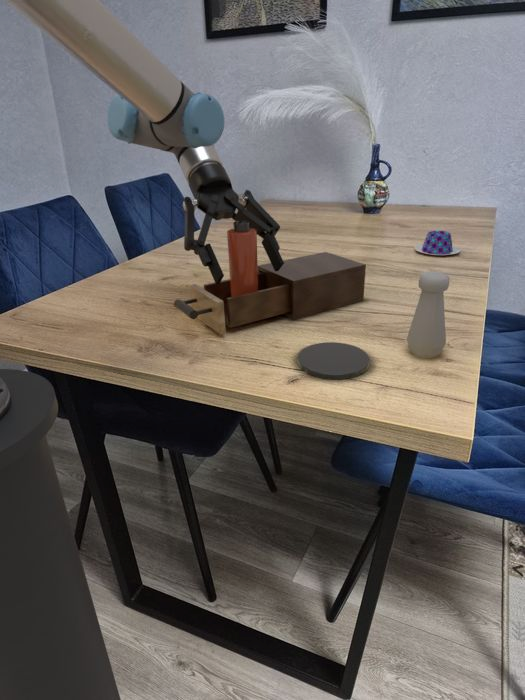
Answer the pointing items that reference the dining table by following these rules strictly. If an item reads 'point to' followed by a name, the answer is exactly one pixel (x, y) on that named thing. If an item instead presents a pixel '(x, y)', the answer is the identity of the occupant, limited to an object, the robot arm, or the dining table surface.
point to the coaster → (333, 360)
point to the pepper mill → (242, 258)
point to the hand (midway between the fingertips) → (250, 273)
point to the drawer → (237, 303)
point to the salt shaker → (429, 316)
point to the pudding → (437, 244)
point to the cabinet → (320, 282)
